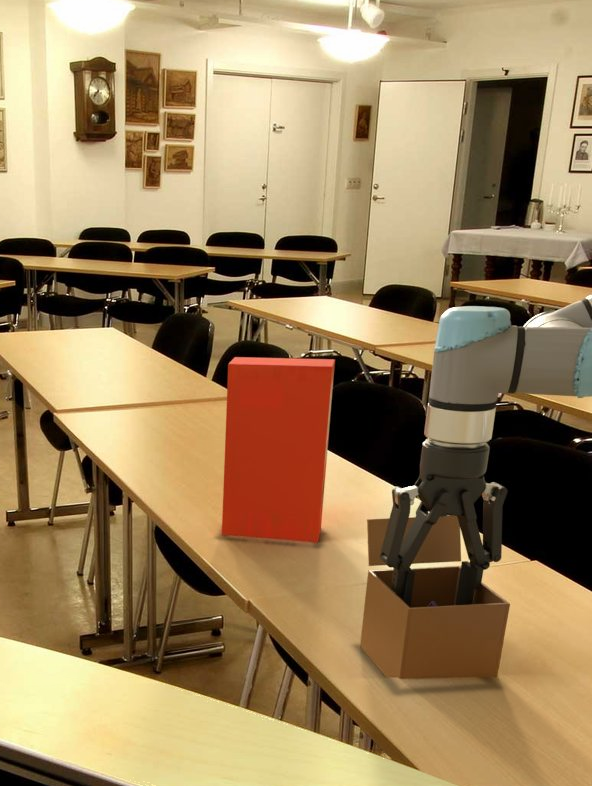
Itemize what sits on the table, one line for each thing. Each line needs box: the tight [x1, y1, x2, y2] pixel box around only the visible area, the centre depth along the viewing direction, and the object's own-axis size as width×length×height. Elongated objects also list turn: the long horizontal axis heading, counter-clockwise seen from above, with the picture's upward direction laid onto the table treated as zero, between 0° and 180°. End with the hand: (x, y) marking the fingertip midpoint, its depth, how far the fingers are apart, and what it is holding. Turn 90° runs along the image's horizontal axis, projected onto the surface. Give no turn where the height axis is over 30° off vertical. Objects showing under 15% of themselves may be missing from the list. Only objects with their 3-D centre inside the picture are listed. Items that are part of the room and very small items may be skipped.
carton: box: [359, 565, 511, 680], centre depth 119 cm, size 13×13×11 cm
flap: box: [366, 515, 462, 567], centre depth 122 cm, size 6×13×1 cm
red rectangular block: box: [221, 356, 336, 544], centre depth 163 cm, size 8×17×32 cm, turn 71°
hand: (432, 612), depth 118 cm, fingers open, 7 cm apart
